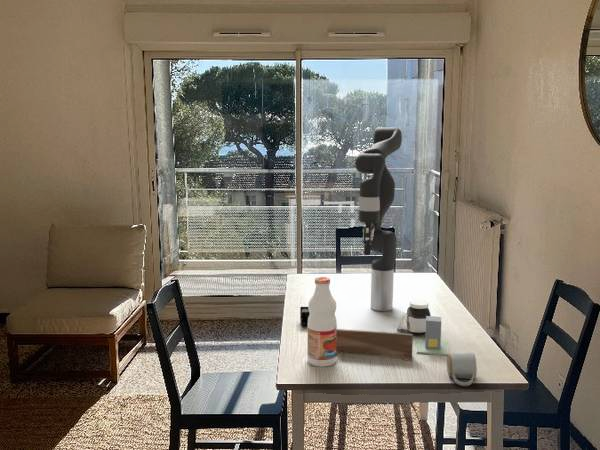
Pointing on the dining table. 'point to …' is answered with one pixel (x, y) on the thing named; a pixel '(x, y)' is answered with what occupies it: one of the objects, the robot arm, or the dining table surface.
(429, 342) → the slate block
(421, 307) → the spread jar
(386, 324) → the dining table surface
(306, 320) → the end cap
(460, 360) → the ceramic mug
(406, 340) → the walnut screen
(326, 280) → the fruit juice
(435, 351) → the sage mat
